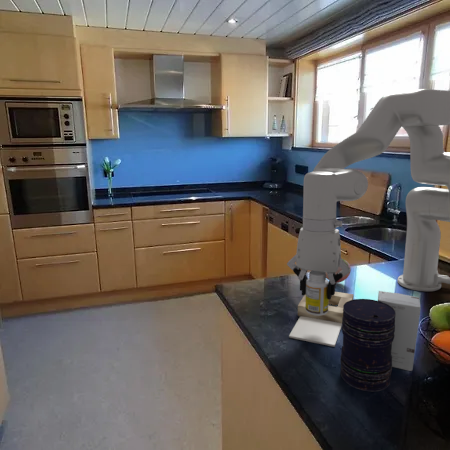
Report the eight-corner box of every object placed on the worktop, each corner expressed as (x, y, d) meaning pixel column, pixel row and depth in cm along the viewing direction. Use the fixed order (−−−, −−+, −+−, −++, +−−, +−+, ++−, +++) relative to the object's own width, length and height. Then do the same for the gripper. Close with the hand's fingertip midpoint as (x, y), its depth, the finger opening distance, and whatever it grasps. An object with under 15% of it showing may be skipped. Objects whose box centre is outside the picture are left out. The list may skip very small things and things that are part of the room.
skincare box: (371, 363, 80) (375, 300, 77) (373, 349, 86) (377, 289, 82) (414, 372, 77) (421, 306, 73) (413, 356, 82) (419, 294, 79)
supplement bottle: (323, 305, 96) (324, 268, 94) (331, 315, 90) (333, 276, 88) (302, 307, 95) (303, 269, 93) (309, 317, 90) (310, 277, 88)
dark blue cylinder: (332, 363, 81) (335, 300, 78) (376, 360, 82) (381, 297, 78) (351, 393, 71) (354, 323, 68) (400, 390, 72) (406, 319, 68)
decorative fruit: (315, 283, 124) (316, 254, 122) (329, 276, 130) (330, 249, 127) (340, 291, 117) (342, 261, 115) (354, 283, 123) (355, 255, 120)
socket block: (353, 303, 108) (353, 294, 108) (346, 324, 97) (347, 313, 96) (308, 296, 114) (309, 287, 113) (297, 315, 103) (297, 305, 102)
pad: (342, 325, 97) (342, 323, 97) (334, 346, 87) (334, 344, 87) (300, 317, 101) (300, 316, 101) (289, 337, 92) (289, 335, 92)
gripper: (359, 223, 87) (355, 294, 92) (288, 218, 95) (287, 285, 99) (355, 231, 81) (351, 307, 85) (279, 225, 88) (279, 295, 92)
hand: (317, 294), depth 92 cm, fingers closed on supplement bottle, 5 cm apart
